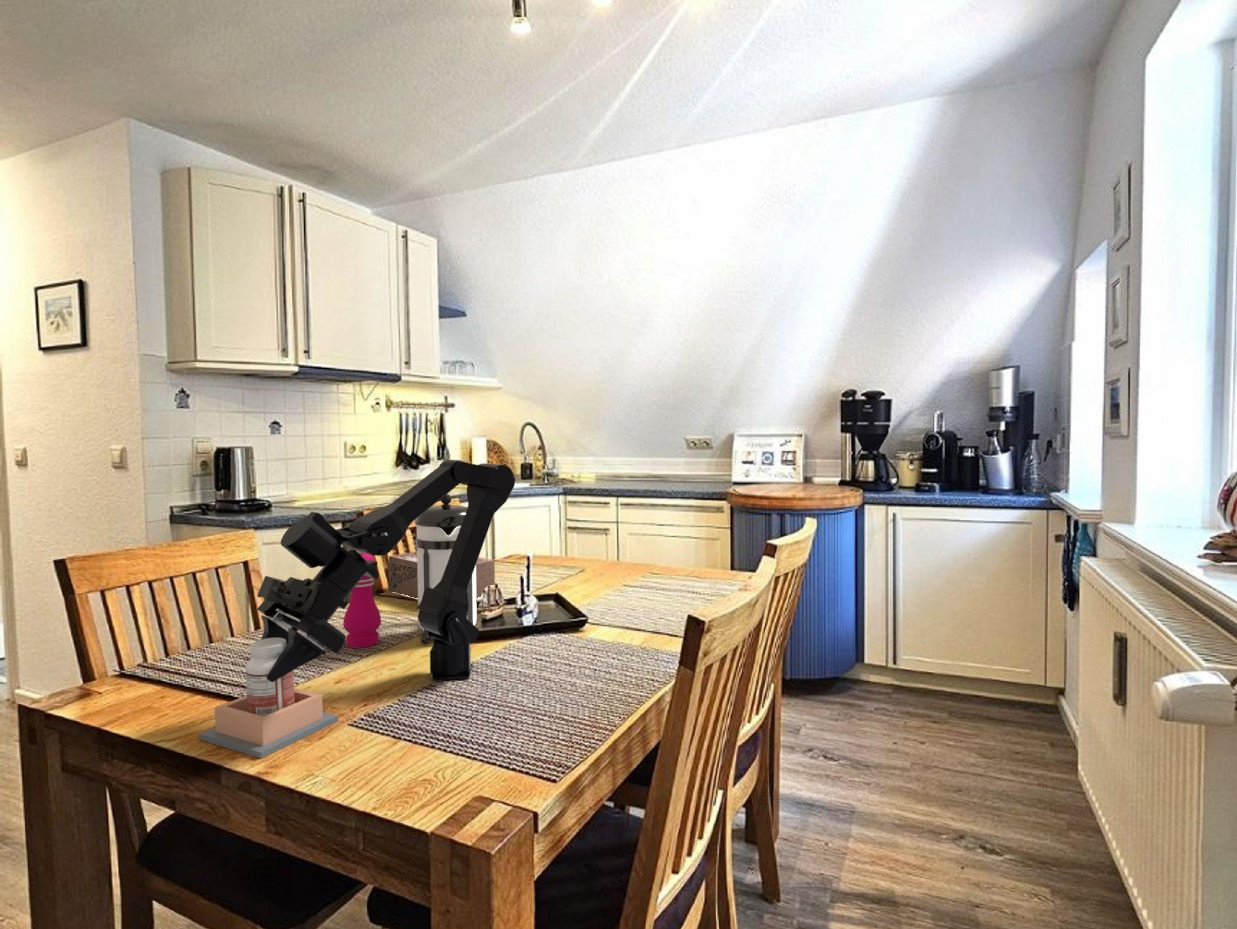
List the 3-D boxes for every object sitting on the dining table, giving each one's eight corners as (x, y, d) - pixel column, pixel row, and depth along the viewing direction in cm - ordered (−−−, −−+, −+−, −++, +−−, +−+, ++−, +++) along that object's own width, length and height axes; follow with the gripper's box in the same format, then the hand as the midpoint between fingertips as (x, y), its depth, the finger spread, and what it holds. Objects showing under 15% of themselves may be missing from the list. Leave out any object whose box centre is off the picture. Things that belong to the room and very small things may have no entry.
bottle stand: (338, 721, 105) (337, 693, 105) (261, 758, 93) (260, 727, 93) (278, 705, 111) (277, 679, 110) (198, 739, 99) (197, 709, 99)
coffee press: (501, 629, 151) (500, 492, 150) (446, 650, 138) (444, 499, 136) (444, 617, 161) (443, 488, 159) (388, 635, 147) (385, 494, 145)
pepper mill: (369, 649, 138) (367, 549, 137) (336, 647, 139) (333, 548, 138) (388, 638, 145) (386, 543, 144) (356, 636, 146) (354, 542, 145)
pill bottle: (283, 704, 107) (280, 633, 106) (302, 714, 103) (300, 641, 102) (240, 717, 102) (237, 643, 101) (259, 729, 98) (256, 652, 97)
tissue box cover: (389, 593, 185) (388, 556, 184) (435, 583, 196) (435, 548, 195) (448, 610, 168) (447, 569, 167) (494, 598, 179) (494, 560, 178)
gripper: (268, 547, 110) (193, 632, 102) (321, 563, 97) (239, 661, 90) (319, 587, 116) (252, 669, 109) (375, 607, 103) (303, 702, 96)
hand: (260, 674), depth 101 cm, fingers closed on pill bottle, 6 cm apart
